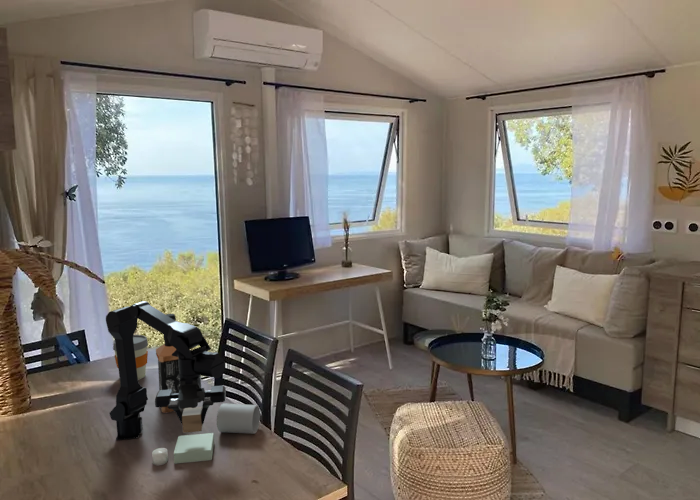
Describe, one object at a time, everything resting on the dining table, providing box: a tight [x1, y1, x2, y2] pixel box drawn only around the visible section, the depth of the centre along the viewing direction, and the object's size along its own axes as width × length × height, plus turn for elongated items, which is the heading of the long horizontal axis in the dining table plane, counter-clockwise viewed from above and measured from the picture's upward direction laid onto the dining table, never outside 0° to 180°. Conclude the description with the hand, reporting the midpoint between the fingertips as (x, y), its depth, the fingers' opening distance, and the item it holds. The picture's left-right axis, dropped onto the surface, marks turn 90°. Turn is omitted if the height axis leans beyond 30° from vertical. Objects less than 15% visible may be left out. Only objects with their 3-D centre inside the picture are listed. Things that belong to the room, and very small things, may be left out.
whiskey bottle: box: [155, 313, 180, 414], centre depth 187 cm, size 10×10×32 cm
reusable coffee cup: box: [112, 334, 149, 381], centre depth 214 cm, size 13×12×15 cm
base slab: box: [173, 432, 215, 465], centre depth 158 cm, size 10×10×3 cm
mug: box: [216, 402, 261, 435], centre depth 171 cm, size 12×8×11 cm
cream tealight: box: [151, 447, 169, 466], centre depth 153 cm, size 4×4×3 cm
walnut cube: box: [181, 406, 204, 434], centre depth 156 cm, size 5×5×5 cm
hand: (193, 424), depth 157 cm, fingers closed on walnut cube, 5 cm apart
